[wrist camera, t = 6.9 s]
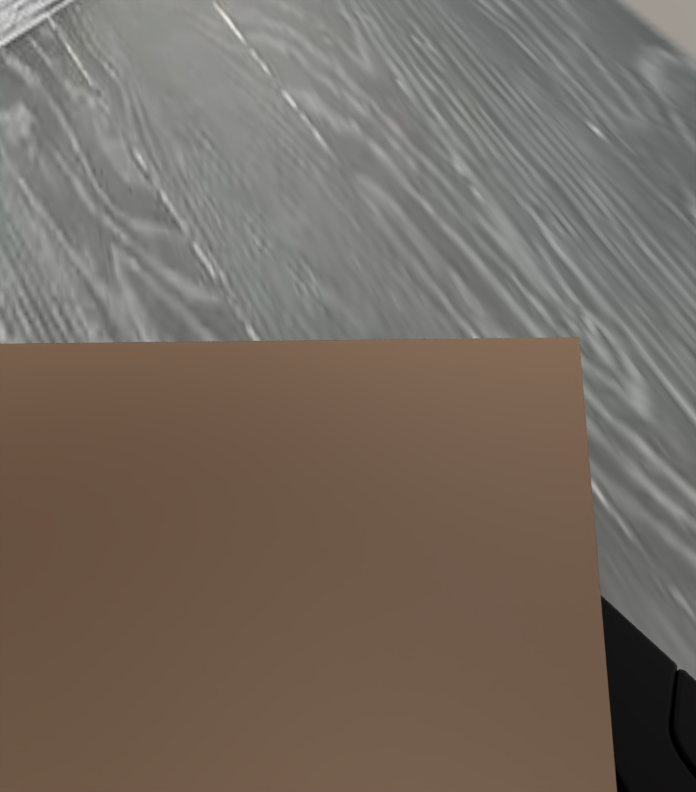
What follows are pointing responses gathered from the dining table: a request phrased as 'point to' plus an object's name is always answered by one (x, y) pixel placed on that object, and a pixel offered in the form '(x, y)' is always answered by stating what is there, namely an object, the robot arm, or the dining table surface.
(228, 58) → the dining table surface
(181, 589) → the walnut block
